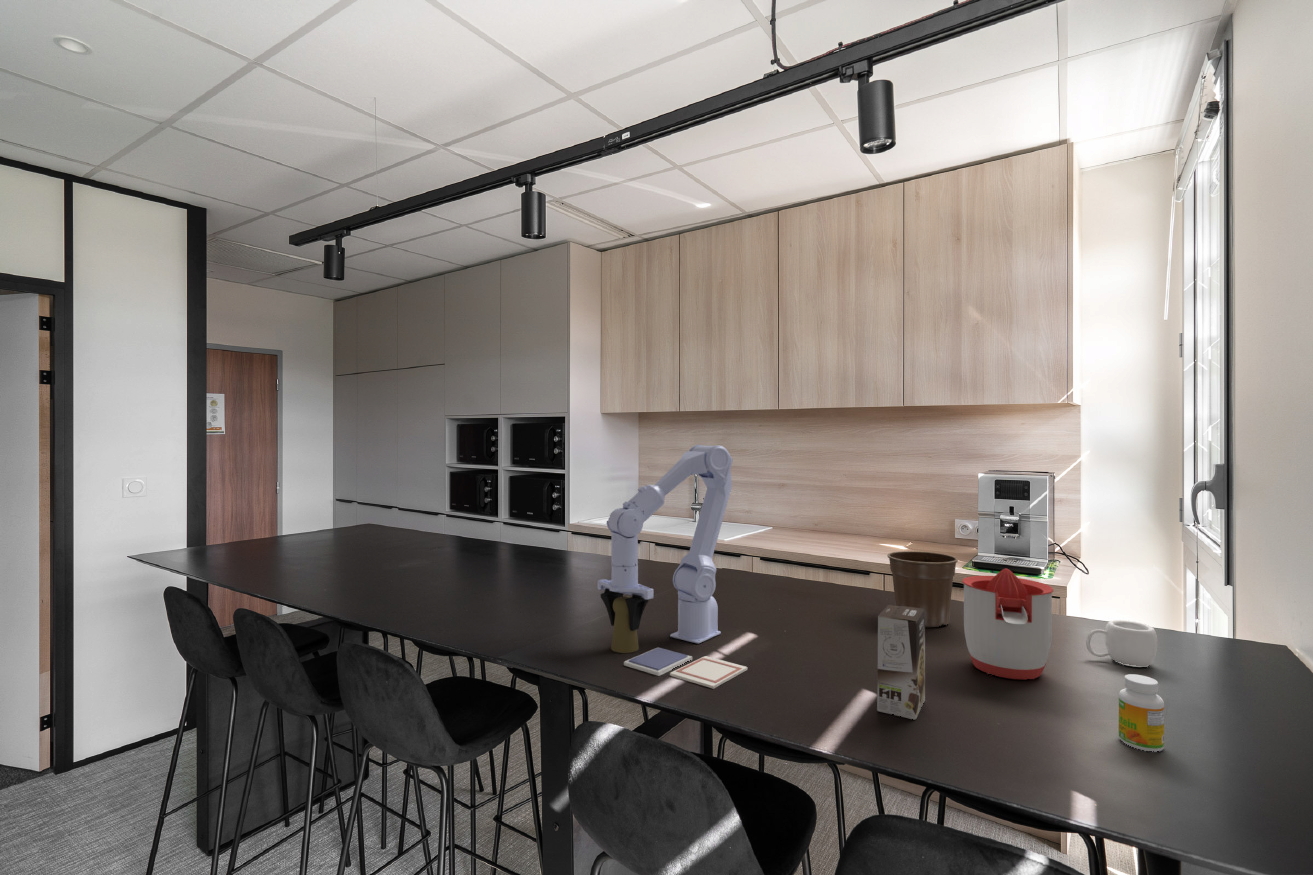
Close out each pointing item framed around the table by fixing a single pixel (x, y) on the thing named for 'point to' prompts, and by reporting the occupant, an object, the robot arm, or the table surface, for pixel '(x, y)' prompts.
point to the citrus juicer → (1008, 624)
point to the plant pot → (924, 583)
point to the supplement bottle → (1141, 714)
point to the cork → (623, 629)
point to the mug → (1127, 642)
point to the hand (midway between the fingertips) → (624, 627)
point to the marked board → (708, 671)
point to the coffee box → (901, 661)
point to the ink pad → (657, 661)
